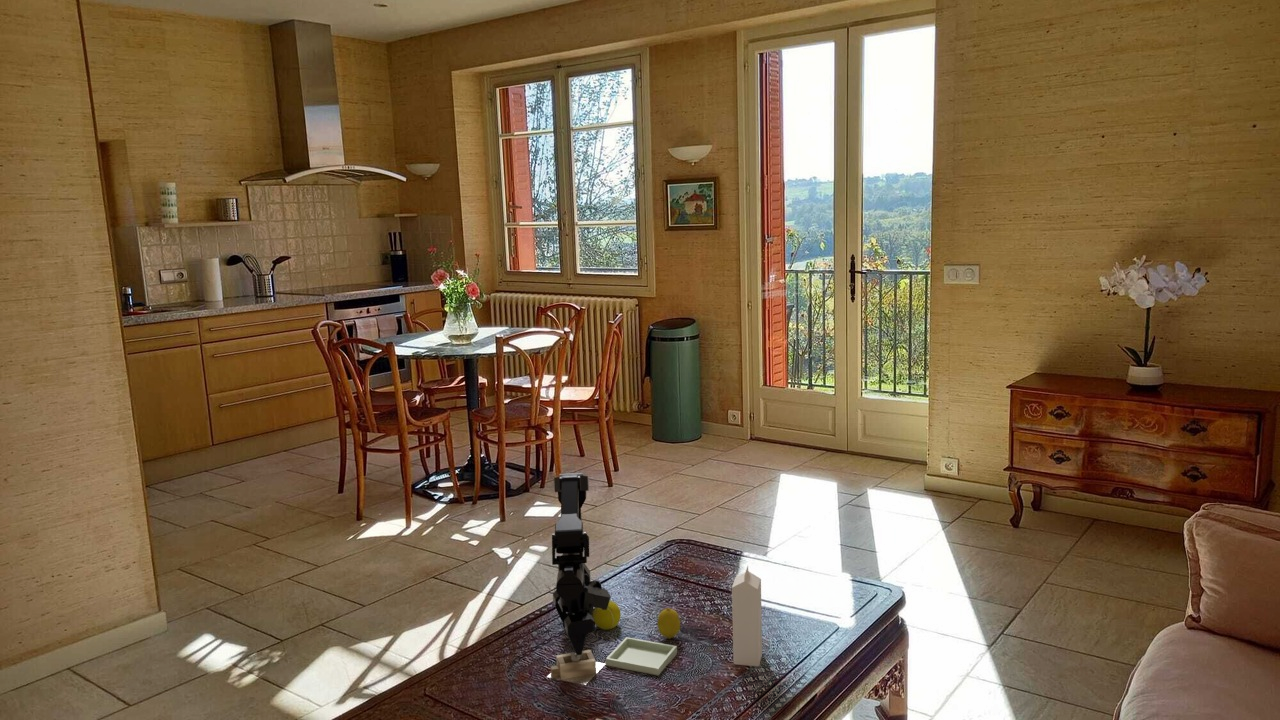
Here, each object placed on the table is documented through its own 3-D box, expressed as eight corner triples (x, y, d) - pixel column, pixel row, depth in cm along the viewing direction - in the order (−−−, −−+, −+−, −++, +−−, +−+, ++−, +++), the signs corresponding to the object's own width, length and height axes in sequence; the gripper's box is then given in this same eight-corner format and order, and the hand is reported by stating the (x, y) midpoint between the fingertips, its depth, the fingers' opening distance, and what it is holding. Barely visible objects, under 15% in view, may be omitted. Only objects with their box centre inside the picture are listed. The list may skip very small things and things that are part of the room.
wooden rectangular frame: (590, 661, 212) (590, 649, 211) (596, 673, 206) (595, 660, 206) (549, 668, 209) (548, 656, 209) (553, 680, 204) (553, 668, 203)
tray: (606, 666, 210) (605, 658, 209) (626, 644, 220) (626, 637, 219) (658, 677, 204) (658, 668, 204) (677, 653, 214) (676, 646, 214)
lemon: (678, 644, 219) (677, 613, 217) (656, 643, 220) (655, 612, 218) (682, 634, 224) (681, 603, 223) (660, 632, 225) (659, 602, 224)
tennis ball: (616, 635, 225) (614, 609, 223) (589, 632, 227) (588, 606, 225) (624, 623, 231) (623, 597, 230) (598, 620, 233) (597, 594, 232)
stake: (546, 678, 206) (545, 659, 205) (567, 657, 214) (566, 639, 214) (585, 686, 201) (584, 667, 201) (605, 665, 210) (604, 646, 210)
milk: (733, 664, 209) (730, 574, 205) (737, 651, 214) (734, 564, 210) (759, 666, 207) (757, 576, 203) (762, 653, 213) (760, 565, 209)
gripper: (616, 592, 197) (619, 658, 200) (597, 560, 215) (600, 621, 218) (566, 600, 195) (570, 667, 197) (550, 567, 212) (554, 629, 215)
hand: (575, 645), depth 207 cm, fingers open, 9 cm apart
